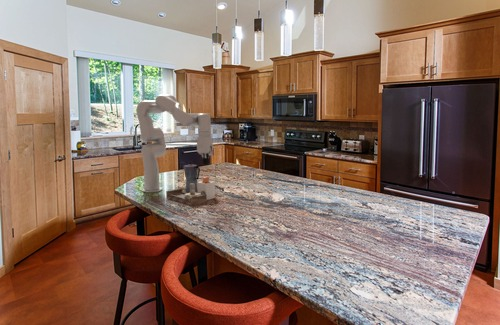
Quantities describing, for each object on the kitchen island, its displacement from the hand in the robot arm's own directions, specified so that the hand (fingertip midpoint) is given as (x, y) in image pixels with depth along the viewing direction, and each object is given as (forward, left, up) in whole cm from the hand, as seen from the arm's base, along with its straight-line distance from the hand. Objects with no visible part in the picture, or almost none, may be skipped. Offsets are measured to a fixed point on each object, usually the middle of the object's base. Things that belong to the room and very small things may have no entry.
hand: (205, 164), depth 199 cm
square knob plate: (0, -11, -19) cm, 22 cm away
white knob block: (0, 0, -21) cm, 21 cm away
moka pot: (-19, +5, -21) cm, 29 cm away
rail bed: (-6, -11, -21) cm, 25 cm away
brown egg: (0, 0, -12) cm, 12 cm away
